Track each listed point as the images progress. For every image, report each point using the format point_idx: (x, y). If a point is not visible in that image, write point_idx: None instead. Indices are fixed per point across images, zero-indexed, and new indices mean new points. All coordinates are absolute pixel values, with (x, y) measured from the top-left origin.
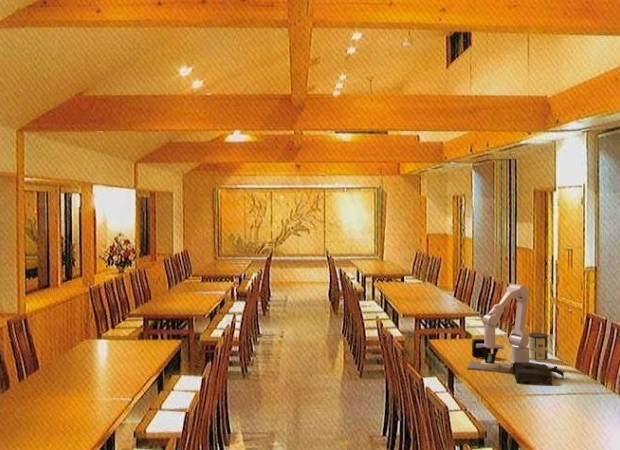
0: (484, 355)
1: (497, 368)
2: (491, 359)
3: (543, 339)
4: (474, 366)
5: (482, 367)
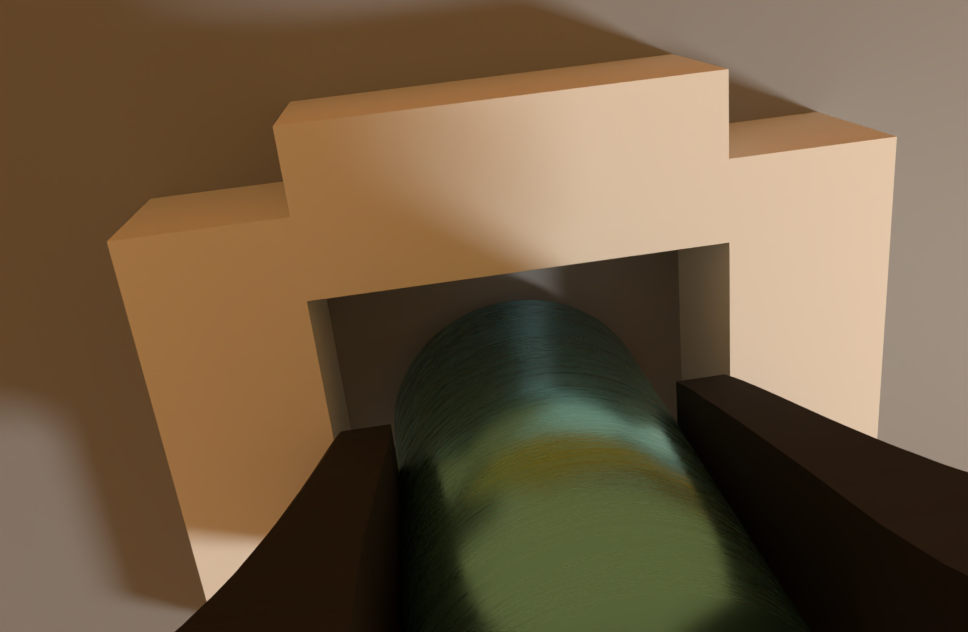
0: (924, 471)
1: (147, 157)
2: (461, 460)
3: None
4: None
5: (735, 42)
